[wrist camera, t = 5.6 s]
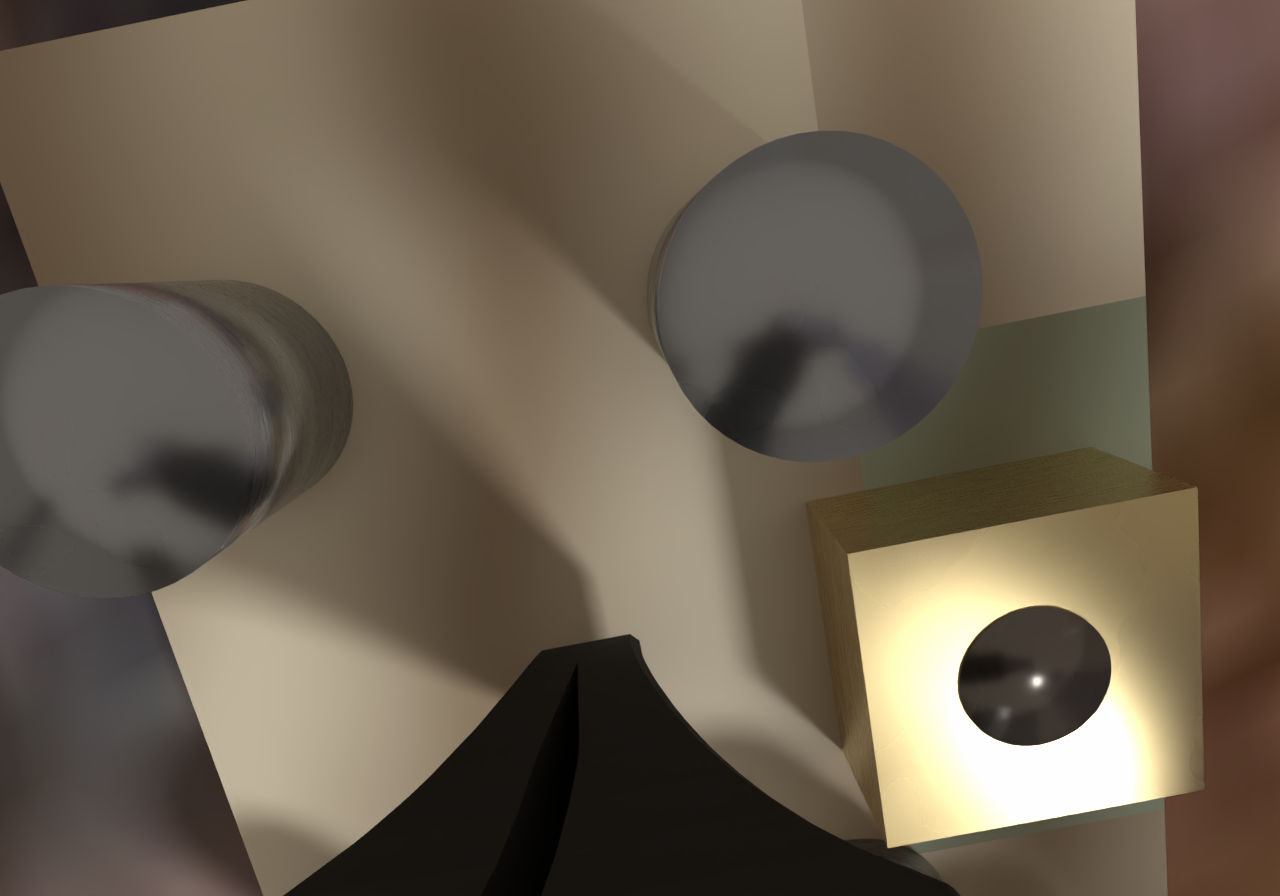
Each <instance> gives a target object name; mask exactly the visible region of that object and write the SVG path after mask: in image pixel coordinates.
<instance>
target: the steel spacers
mask: <svg viewBox="0 0 1280 896" xmlns="http://www.w3.org/2000/svg"><path fill="white" fill-rule="evenodd" d="M982 297H983V284H982V268H981V261H980V255H979V250H978V246H977V243H976V239H975V236H974V232H973V230H972V227H971V225H970V223H969V221H968V218H967V216H966V214H965V212H964V210H963V208H962V207H961V205H960V203H959V202H958V200H957V199H956V197H955V195H954V194H953V192H952V191H951V190H950V189H949V188H948V186H947V185H946V184H945V183H944V182H943V180H942V179H941V178H940V177H939V176H938V175H937V174H936V173H935V172H934V171H933V170H931V169H930V168H929V167H928V166H927V165H926V164H925V163H924V162H922V161H921V160H919V159H918V158H916V157H915V156H913V155H912V154H910V153H909V152H907V151H906V150H904V149H902V148H900V147H898V146H896V145H893V144H891V143H889V142H887V141H885V140H882V139H878V138H875V137H872V136H869V135H865V134H860V133H853V132H847V131H813V132H805V133H798V134H794V135H790V136H787V137H783V138H779V139H776V140H774V141H771V142H769V143H766V144H764V145H762V146H759V147H757V148H755V149H753V150H751V151H750V152H748V153H746V154H745V155H743V156H741V157H740V158H738V159H736V160H735V161H734V162H732V163H731V164H730V165H728V166H727V167H726V168H725V169H723V170H722V171H721V172H719V173H718V174H717V175H716V176H715V177H714V178H713V179H712V180H711V181H709V182H708V183H707V184H706V185H705V186H704V187H703V188H702V189H701V190H700V191H699V192H698V193H697V194H695V195H694V196H693V197H692V198H691V199H690V200H689V201H688V202H687V203H686V204H685V205H684V206H683V207H682V208H681V209H680V210H679V211H678V212H677V213H676V214H675V216H674V217H673V218H672V220H671V221H670V222H669V224H668V225H667V226H666V228H665V230H664V232H663V233H662V235H661V237H660V239H659V240H658V243H657V245H656V248H655V250H654V253H653V255H652V259H651V263H650V266H649V271H648V278H647V285H646V302H647V310H648V317H649V321H650V325H651V329H652V332H653V334H654V337H655V339H656V342H657V344H658V346H659V348H660V350H661V352H662V354H663V356H664V358H665V360H666V362H667V364H668V366H669V367H670V369H671V371H672V373H673V375H674V377H675V379H676V381H677V382H678V384H679V386H680V388H681V390H682V391H683V393H684V395H685V396H686V397H687V399H688V400H689V401H690V403H691V404H692V405H693V407H694V408H695V409H696V410H697V411H698V412H699V414H700V415H701V416H702V417H703V418H704V419H705V420H706V421H707V422H708V423H709V424H710V425H712V426H713V427H714V428H716V429H717V430H718V431H719V432H721V433H722V434H723V435H725V436H726V437H727V438H729V439H731V440H733V441H734V442H736V443H738V444H740V445H741V446H743V447H745V448H748V449H750V450H752V451H755V452H757V453H760V454H762V455H766V456H770V457H774V458H777V459H781V460H788V461H796V462H827V461H835V460H842V459H846V458H850V457H854V456H858V455H862V454H864V453H867V452H869V451H872V450H874V449H877V448H879V447H882V446H884V445H885V444H887V443H889V442H891V441H893V440H895V439H896V438H898V437H900V436H901V435H903V434H904V433H906V432H907V431H908V430H910V429H911V428H913V427H914V426H915V425H917V424H918V423H919V422H920V421H921V420H922V419H923V418H924V417H926V416H927V415H928V414H929V413H930V412H931V411H932V410H933V409H934V408H935V407H936V405H937V404H938V403H939V402H940V401H941V400H942V399H943V397H944V396H945V395H946V394H947V392H948V391H949V389H950V388H951V386H952V385H953V383H954V382H955V380H956V379H957V378H958V376H959V374H960V372H961V370H962V368H963V366H964V364H965V362H966V360H967V358H968V356H969V353H970V351H971V348H972V345H973V342H974V340H975V337H976V333H977V328H978V324H979V320H980V315H981V306H982ZM352 417H353V396H352V387H351V382H350V378H349V374H348V371H347V368H346V365H345V362H344V360H343V358H342V356H341V354H340V352H339V350H338V348H337V346H336V344H335V343H334V341H333V340H332V338H331V337H330V335H329V334H328V333H327V331H326V330H325V329H324V328H323V327H322V325H321V324H320V323H319V322H318V321H317V320H316V319H315V318H314V317H313V316H312V315H311V314H310V313H308V312H307V311H306V310H305V309H304V308H302V307H301V306H300V305H298V304H297V303H295V302H294V301H293V300H291V299H289V298H287V297H285V296H284V295H282V294H280V293H278V292H276V291H273V290H271V289H268V288H266V287H263V286H260V285H256V284H252V283H249V282H242V281H235V280H201V281H170V282H140V283H109V284H79V285H48V286H38V287H30V288H23V289H19V290H15V291H12V292H8V293H4V294H1V295H0V565H1V566H2V567H4V568H6V569H7V570H9V571H11V572H12V573H14V574H16V575H18V576H20V577H22V578H24V579H26V580H28V581H30V582H32V583H34V584H37V585H40V586H43V587H46V588H48V589H51V590H54V591H58V592H62V593H66V594H71V595H75V596H83V597H92V598H121V597H129V596H137V595H141V594H145V593H149V592H153V591H156V590H159V589H161V588H164V587H166V586H169V585H171V584H174V583H176V582H177V581H179V580H181V579H183V578H184V577H186V576H188V575H189V574H191V573H192V572H194V571H195V570H197V569H198V568H199V567H201V566H202V565H204V564H205V563H206V562H208V561H209V560H211V559H212V558H213V557H215V556H216V555H217V554H219V553H220V552H222V551H223V550H224V549H226V548H227V547H229V546H230V545H231V544H233V543H234V542H236V541H237V540H238V539H240V538H241V537H243V536H244V535H245V534H247V533H248V532H249V531H251V530H252V529H254V528H255V527H256V526H258V525H259V524H261V523H262V522H263V521H265V520H266V519H268V518H269V517H270V516H272V515H273V514H274V513H276V512H277V511H279V510H280V509H281V508H283V507H284V506H286V505H287V504H288V503H290V502H291V501H293V500H294V499H295V498H297V497H298V496H300V495H301V494H302V493H304V492H305V491H306V490H308V489H309V488H311V487H312V486H313V485H314V484H316V483H317V482H318V481H320V480H321V479H322V478H323V477H324V476H325V475H326V474H327V473H328V472H329V471H330V469H331V468H332V467H333V465H334V464H335V463H336V461H337V460H338V458H339V457H340V455H341V453H342V451H343V449H344V447H345V445H346V442H347V439H348V436H349V433H350V428H351V423H352ZM844 841H846V842H848V843H850V844H852V845H854V846H856V847H859V848H861V849H863V850H865V851H868V852H870V853H873V854H875V855H878V856H880V857H883V858H885V859H888V860H890V861H893V862H895V863H898V864H900V865H902V866H905V867H907V868H910V869H912V870H915V871H917V872H920V873H922V874H925V875H927V876H930V877H932V878H935V879H937V880H940V881H942V882H943V880H942V878H941V877H940V875H939V873H938V872H937V871H936V869H935V868H934V867H933V866H932V865H931V864H930V863H929V862H928V861H927V860H926V859H925V858H924V857H922V856H921V855H919V854H918V853H917V852H915V851H913V850H911V849H909V848H907V847H905V846H897V847H892V848H887V845H886V843H885V841H884V840H880V839H851V840H844Z"/></svg>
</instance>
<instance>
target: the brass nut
mask: <svg viewBox="0 0 1280 896" xmlns="http://www.w3.org/2000/svg"><path fill="white" fill-rule="evenodd" d="M806 509H807V516H808V522H809V529H810V536H811V543H812V549H813V556H814V563H815V570H816V576H817V583H818V590H819V597H820V603H821V610H822V617H823V624H824V630H825V637H826V644H827V651H828V657H829V664H830V671H831V678H832V684H833V691H834V698H835V704H836V711H837V718H838V725H839V731H840V738H841V745H842V751H843V753H844V755H845V757H846V759H847V762H848V764H849V766H850V768H851V770H852V772H853V775H854V777H855V779H856V781H857V783H858V785H859V787H860V790H861V792H862V794H863V796H864V798H865V800H866V802H867V805H868V807H869V809H870V811H871V813H872V815H873V818H874V820H875V822H876V824H877V826H878V828H879V830H880V833H881V835H882V837H883V839H884V841H885V843H886V845H887V848H892V847H897V846H903V845H908V844H914V843H919V842H924V841H930V840H935V839H941V838H946V837H952V836H957V835H962V834H968V833H973V832H979V831H984V830H989V829H995V828H1000V827H1006V826H1011V825H1017V824H1022V823H1027V822H1033V821H1038V820H1044V819H1049V818H1055V817H1060V816H1065V815H1071V814H1076V813H1082V812H1087V811H1092V810H1098V809H1103V808H1109V807H1114V806H1120V805H1125V804H1130V803H1136V802H1141V801H1147V800H1152V799H1157V798H1163V797H1168V796H1174V795H1179V794H1185V793H1190V792H1195V791H1201V790H1205V788H1204V743H1203V699H1202V654H1201V609H1200V565H1199V520H1198V487H1196V486H1193V485H1191V484H1188V483H1185V482H1183V481H1180V480H1177V479H1175V478H1172V477H1170V476H1167V475H1164V474H1162V473H1159V472H1156V471H1154V470H1151V469H1148V468H1146V467H1143V466H1141V465H1138V464H1135V463H1133V462H1130V461H1127V460H1125V459H1122V458H1119V457H1117V456H1114V455H1112V454H1109V453H1106V452H1104V451H1101V450H1098V449H1096V448H1093V447H1087V448H1082V449H1077V450H1071V451H1066V452H1061V453H1056V454H1051V455H1045V456H1040V457H1035V458H1030V459H1025V460H1019V461H1014V462H1009V463H1004V464H999V465H993V466H988V467H983V468H978V469H973V470H967V471H962V472H957V473H952V474H947V475H941V476H936V477H931V478H926V479H920V480H915V481H910V482H905V483H900V484H894V485H889V486H884V487H879V488H874V489H868V490H863V491H858V492H853V493H848V494H842V495H837V496H832V497H827V498H822V499H816V500H811V501H806Z"/></svg>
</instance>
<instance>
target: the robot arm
mask: <svg viewBox="0 0 1280 896" xmlns="http://www.w3.org/2000/svg"><path fill="white" fill-rule="evenodd" d="M283 896H960V894H959V893H958V892H957V891H956V890H955V889H954V888H953V887H952V886H950V885H949V884H947V883H945V882H942V881H940V880H937V879H935V878H932V877H930V876H927V875H925V874H922V873H920V872H917V871H915V870H912V869H910V868H907V867H905V866H902V865H900V864H898V863H895V862H893V861H890V860H888V859H885V858H883V857H880V856H878V855H875V854H873V853H870V852H868V851H865V850H863V849H861V848H859V847H856V846H854V845H852V844H850V843H848V842H846V841H844V840H843V839H841V838H839V837H837V836H835V835H833V834H831V833H829V832H827V831H825V830H823V829H821V828H819V827H817V826H816V825H814V824H812V823H810V822H809V821H807V820H806V819H804V818H802V817H801V816H799V815H798V814H796V813H795V812H793V811H792V810H790V809H788V808H787V807H785V806H784V805H782V804H781V803H779V802H777V801H776V800H774V799H773V798H771V797H770V796H768V795H767V794H766V793H764V792H763V791H762V790H761V789H759V788H758V787H757V786H755V785H754V784H753V783H752V782H750V781H749V780H748V779H747V778H745V777H744V776H743V775H741V774H740V773H739V772H738V771H737V770H736V769H734V768H733V767H732V766H731V765H730V764H729V763H728V762H726V761H725V760H724V759H723V758H722V757H721V756H720V755H719V754H718V753H717V752H716V751H715V750H714V749H712V748H711V747H710V746H709V745H708V744H707V742H706V741H705V740H704V739H703V738H702V737H701V736H700V735H699V734H698V733H697V732H696V731H695V730H694V729H693V727H692V726H691V725H690V724H689V723H688V722H687V721H686V720H685V719H684V717H683V716H682V715H681V714H680V712H679V711H678V710H677V709H676V707H675V706H674V705H673V703H672V702H671V701H670V699H669V698H668V697H667V695H666V694H665V692H664V691H663V690H662V688H661V687H660V686H659V684H658V683H657V681H656V679H655V678H654V676H653V675H652V673H651V671H650V669H649V667H648V666H647V664H646V662H645V660H644V658H643V655H642V650H641V645H640V641H639V640H638V639H637V638H635V637H634V636H632V635H631V634H627V635H622V636H616V637H611V638H606V639H600V640H595V641H590V642H584V643H579V644H574V645H568V646H563V647H558V648H552V649H547V650H542V651H541V652H540V653H539V654H538V655H537V656H536V657H535V658H534V659H533V660H532V662H531V663H530V664H529V665H528V666H527V668H526V669H525V670H524V671H523V673H522V674H521V675H520V676H519V677H518V679H517V680H516V681H515V682H514V684H513V685H512V686H511V687H510V688H509V690H508V691H507V692H506V693H505V694H504V696H503V697H502V698H501V699H500V700H499V701H498V703H497V704H496V705H495V706H494V707H493V709H492V710H491V711H490V712H489V713H488V714H487V716H486V717H485V718H484V719H483V720H482V721H481V723H480V724H479V725H478V726H477V727H476V728H475V729H474V731H473V732H472V733H471V734H470V735H469V736H468V737H467V738H466V739H465V740H464V741H463V742H462V743H461V744H460V745H459V746H458V747H457V748H456V749H455V750H454V752H453V753H452V754H451V755H450V756H449V757H448V758H447V759H446V760H445V761H444V762H443V763H442V764H441V765H440V766H439V767H438V768H437V769H436V770H435V772H434V773H433V774H432V775H431V776H430V777H429V778H428V779H427V780H426V781H425V782H423V783H422V784H421V785H420V786H419V787H418V788H417V789H416V790H415V791H414V792H413V793H412V794H411V795H410V796H409V797H407V798H406V799H405V800H404V801H403V802H402V803H401V804H400V805H399V806H397V807H396V808H395V809H394V810H393V811H392V812H390V813H389V814H388V815H387V816H386V817H385V818H383V819H382V820H381V821H380V822H379V823H378V824H377V825H375V826H374V827H373V828H372V829H371V830H370V831H368V832H367V833H366V834H365V835H363V836H362V837H361V838H360V839H358V840H357V841H356V842H355V843H354V844H352V845H351V846H350V847H348V848H347V849H345V850H344V851H343V852H341V853H340V854H339V855H337V856H336V857H335V858H333V859H332V860H331V861H329V862H328V863H327V864H325V865H324V866H322V867H321V868H320V869H318V870H317V871H316V872H314V873H313V874H312V875H310V876H309V877H308V878H306V879H305V880H304V881H302V882H301V883H299V884H298V885H297V886H295V887H294V888H293V889H291V890H290V891H289V892H287V893H286V894H285V895H283Z"/></svg>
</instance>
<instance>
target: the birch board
mask: <svg viewBox="0 0 1280 896" xmlns="http://www.w3.org/2000/svg"><path fill="white" fill-rule="evenodd" d="M813 131H847V132H853V133H860V134H865V135H869V136H872V137H875V138H878V139H882V140H885V141H887V142H889V143H891V144H893V145H896V146H898V147H900V148H902V149H904V150H906V151H907V152H909V153H910V154H912V155H913V156H915V157H916V158H918V159H919V160H921V161H922V162H924V163H925V164H926V165H927V166H928V167H929V168H930V169H931V170H933V171H934V172H935V173H936V174H937V175H938V176H939V177H940V178H941V179H942V180H943V182H944V183H945V184H946V185H947V186H948V188H949V189H950V190H951V191H952V192H953V194H954V195H955V197H956V199H957V200H958V202H959V203H960V205H961V207H962V208H963V210H964V212H965V214H966V216H967V218H968V221H969V223H970V225H971V227H972V230H973V232H974V236H975V239H976V243H977V246H978V250H979V255H980V261H981V268H982V284H983V297H982V306H981V315H980V320H979V324H978V328H977V333H976V337H975V340H974V342H973V345H972V348H971V351H970V353H969V356H968V358H967V360H966V362H965V364H964V366H963V368H962V370H961V372H960V374H959V376H958V378H957V379H956V380H955V382H954V383H953V385H952V386H951V388H950V389H949V391H948V392H947V394H946V395H945V396H944V397H943V399H942V400H941V401H940V402H939V403H938V404H937V405H936V407H935V408H934V409H933V410H932V411H931V412H930V413H929V414H928V415H927V416H926V417H924V418H923V419H922V420H921V421H920V422H919V423H918V424H917V425H915V426H914V427H913V428H911V429H910V430H908V431H907V432H906V433H904V434H903V435H901V436H900V437H898V438H896V439H895V440H893V441H891V442H889V443H887V444H885V445H884V446H882V447H879V448H877V449H874V450H872V451H869V452H867V453H864V454H862V455H858V456H854V457H850V458H846V459H842V460H835V461H827V462H796V461H788V460H781V459H777V458H774V457H770V456H766V455H762V454H760V453H757V452H755V451H752V450H750V449H748V448H745V447H743V446H741V445H740V444H738V443H736V442H734V441H733V440H731V439H729V438H727V437H726V436H725V435H723V434H722V433H721V432H719V431H718V430H717V429H716V428H714V427H713V426H712V425H710V424H709V423H708V422H707V421H706V420H705V419H704V418H703V417H702V416H701V415H700V414H699V412H698V411H697V410H696V409H695V408H694V407H693V405H692V404H691V403H690V401H689V400H688V399H687V397H686V396H685V395H684V393H683V391H682V390H681V388H680V386H679V384H678V382H677V381H676V379H675V377H674V375H673V373H672V371H671V369H670V367H669V366H668V364H667V362H666V360H665V358H664V356H663V354H662V352H661V350H660V348H659V346H658V344H657V342H656V339H655V337H654V334H653V332H652V329H651V325H650V321H649V317H648V310H647V302H646V285H647V278H648V271H649V266H650V263H651V259H652V255H653V253H654V250H655V248H656V245H657V243H658V240H659V239H660V237H661V235H662V233H663V232H664V230H665V228H666V226H667V225H668V224H669V222H670V221H671V220H672V218H673V217H674V216H675V214H676V213H677V212H678V211H679V210H680V209H681V208H682V207H683V206H684V205H685V204H686V203H687V202H688V201H689V200H690V199H691V198H692V197H693V196H694V195H695V194H697V193H698V192H699V191H700V190H701V189H702V188H703V187H704V186H705V185H706V184H707V183H708V182H709V181H711V180H712V179H713V178H714V177H715V176H716V175H717V174H718V173H719V172H721V171H722V170H723V169H725V168H726V167H727V166H728V165H730V164H731V163H732V162H734V161H735V160H736V159H738V158H740V157H741V156H743V155H745V154H746V153H748V152H750V151H751V150H753V149H755V148H757V147H759V146H762V145H764V144H766V143H769V142H771V141H774V140H776V139H779V138H783V137H787V136H790V135H794V134H798V133H805V132H813ZM0 183H1V186H2V188H3V191H4V194H5V196H6V199H7V202H8V205H9V207H10V210H11V213H12V215H13V218H14V221H15V224H16V226H17V229H18V232H19V234H20V237H21V240H22V242H23V245H24V248H25V251H26V253H27V256H28V259H29V261H30V264H31V267H32V270H33V272H34V275H35V278H36V280H37V283H38V286H48V285H79V284H109V283H140V282H170V281H201V280H235V281H242V282H249V283H252V284H256V285H260V286H263V287H266V288H268V289H271V290H273V291H276V292H278V293H280V294H282V295H284V296H285V297H287V298H289V299H291V300H293V301H294V302H295V303H297V304H298V305H300V306H301V307H302V308H304V309H305V310H306V311H307V312H308V313H310V314H311V315H312V316H313V317H314V318H315V319H316V320H317V321H318V322H319V323H320V324H321V325H322V327H323V328H324V329H325V330H326V331H327V333H328V334H329V335H330V337H331V338H332V340H333V341H334V343H335V344H336V346H337V348H338V350H339V352H340V354H341V356H342V358H343V360H344V362H345V365H346V368H347V371H348V374H349V378H350V382H351V387H352V396H353V417H352V423H351V428H350V433H349V436H348V439H347V442H346V445H345V447H344V449H343V451H342V453H341V455H340V457H339V458H338V460H337V461H336V463H335V464H334V465H333V467H332V468H331V469H330V471H329V472H328V473H327V474H326V475H325V476H324V477H323V478H322V479H321V480H320V481H318V482H317V483H316V484H314V485H313V486H312V487H311V488H309V489H308V490H306V491H305V492H304V493H302V494H301V495H300V496H298V497H297V498H295V499H294V500H293V501H291V502H290V503H288V504H287V505H286V506H284V507H283V508H281V509H280V510H279V511H277V512H276V513H274V514H273V515H272V516H270V517H269V518H268V519H266V520H265V521H263V522H262V523H261V524H259V525H258V526H256V527H255V528H254V529H252V530H251V531H249V532H248V533H247V534H245V535H244V536H243V537H241V538H240V539H238V540H237V541H236V542H234V543H233V544H231V545H230V546H229V547H227V548H226V549H224V550H223V551H222V552H220V553H219V554H217V555H216V556H215V557H213V558H212V559H211V560H209V561H208V562H206V563H205V564H204V565H202V566H201V567H199V568H198V569H197V570H195V571H194V572H192V573H191V574H189V575H188V576H186V577H184V578H183V579H181V580H179V581H177V582H176V583H174V584H171V585H169V586H166V587H164V588H161V589H159V590H156V591H153V592H152V595H153V598H154V601H155V603H156V606H157V609H158V611H159V614H160V617H161V620H162V622H163V625H164V628H165V630H166V633H167V636H168V639H169V641H170V644H171V647H172V649H173V652H174V655H175V658H176V660H177V663H178V666H179V668H180V671H181V674H182V677H183V679H184V682H185V685H186V687H187V690H188V693H189V695H190V698H191V701H192V704H193V706H194V709H195V712H196V714H197V717H198V720H199V723H200V725H201V728H202V731H203V733H204V736H205V739H206V742H207V744H208V747H209V750H210V752H211V755H212V758H213V761H214V763H215V766H216V769H217V771H218V774H219V777H220V780H221V782H222V785H223V788H224V790H225V793H226V796H227V799H228V801H229V804H230V807H231V809H232V812H233V815H234V818H235V820H236V823H237V826H238V828H239V831H240V834H241V837H242V839H243V842H244V845H245V847H246V850H247V853H248V856H249V858H250V861H251V864H252V866H253V869H254V872H255V875H256V877H257V880H258V883H259V885H260V888H261V891H262V894H263V896H283V895H285V894H286V893H287V892H289V891H290V890H291V889H293V888H294V887H295V886H297V885H298V884H299V883H301V882H302V881H304V880H305V879H306V878H308V877H309V876H310V875H312V874H313V873H314V872H316V871H317V870H318V869H320V868H321V867H322V866H324V865H325V864H327V863H328V862H329V861H331V860H332V859H333V858H335V857H336V856H337V855H339V854H340V853H341V852H343V851H344V850H345V849H347V848H348V847H350V846H351V845H352V844H354V843H355V842H356V841H357V840H358V839H360V838H361V837H362V836H363V835H365V834H366V833H367V832H368V831H370V830H371V829H372V828H373V827H374V826H375V825H377V824H378V823H379V822H380V821H381V820H382V819H383V818H385V817H386V816H387V815H388V814H389V813H390V812H392V811H393V810H394V809H395V808H396V807H397V806H399V805H400V804H401V803H402V802H403V801H404V800H405V799H406V798H407V797H409V796H410V795H411V794H412V793H413V792H414V791H415V790H416V789H417V788H418V787H419V786H420V785H421V784H422V783H423V782H425V781H426V780H427V779H428V778H429V777H430V776H431V775H432V774H433V773H434V772H435V770H436V769H437V768H438V767H439V766H440V765H441V764H442V763H443V762H444V761H445V760H446V759H447V758H448V757H449V756H450V755H451V754H452V753H453V752H454V750H455V749H456V748H457V747H458V746H459V745H460V744H461V743H462V742H463V741H464V740H465V739H466V738H467V737H468V736H469V735H470V734H471V733H472V732H473V731H474V729H475V728H476V727H477V726H478V725H479V724H480V723H481V721H482V720H483V719H484V718H485V717H486V716H487V714H488V713H489V712H490V711H491V710H492V709H493V707H494V706H495V705H496V704H497V703H498V701H499V700H500V699H501V698H502V697H503V696H504V694H505V693H506V692H507V691H508V690H509V688H510V687H511V686H512V685H513V684H514V682H515V681H516V680H517V679H518V677H519V676H520V675H521V674H522V673H523V671H524V670H525V669H526V668H527V666H528V665H529V664H530V663H531V662H532V660H533V659H534V658H535V657H536V656H537V655H538V654H539V653H540V652H541V651H542V650H547V649H552V648H558V647H563V646H568V645H574V644H579V643H584V642H590V641H595V640H600V639H606V638H611V637H616V636H622V635H627V634H631V635H632V636H634V637H635V638H637V639H638V640H639V641H640V645H641V650H642V655H643V658H644V660H645V662H646V664H647V666H648V667H649V669H650V671H651V673H652V675H653V676H654V678H655V679H656V681H657V683H658V684H659V686H660V687H661V688H662V690H663V691H664V692H665V694H666V695H667V697H668V698H669V699H670V701H671V702H672V703H673V705H674V706H675V707H676V709H677V710H678V711H679V712H680V714H681V715H682V716H683V717H684V719H685V720H686V721H687V722H688V723H689V724H690V725H691V726H692V727H693V729H694V730H695V731H696V732H697V733H698V734H699V735H700V736H701V737H702V738H703V739H704V740H705V741H706V742H707V744H708V745H709V746H710V747H711V748H712V749H714V750H715V751H716V752H717V753H718V754H719V755H720V756H721V757H722V758H723V759H724V760H725V761H726V762H728V763H729V764H730V765H731V766H732V767H733V768H734V769H736V770H737V771H738V772H739V773H740V774H741V775H743V776H744V777H745V778H747V779H748V780H749V781H750V782H752V783H753V784H754V785H755V786H757V787H758V788H759V789H761V790H762V791H763V792H764V793H766V794H767V795H768V796H770V797H771V798H773V799H774V800H776V801H777V802H779V803H781V804H782V805H784V806H785V807H787V808H788V809H790V810H792V811H793V812H795V813H796V814H798V815H799V816H801V817H802V818H804V819H806V820H807V821H809V822H810V823H812V824H814V825H816V826H817V827H819V828H821V829H823V830H825V831H827V832H829V833H831V834H833V835H835V836H837V837H839V838H841V839H843V840H851V839H880V840H884V839H883V837H882V835H881V833H880V830H879V828H878V826H877V824H876V822H875V820H874V818H873V815H872V813H871V811H870V809H869V807H868V805H867V802H866V800H865V798H864V796H863V794H862V792H861V790H860V787H859V785H858V783H857V781H856V779H855V777H854V775H853V772H852V770H851V768H850V766H849V764H848V762H847V759H846V757H845V755H844V753H843V751H842V745H841V738H840V731H839V725H838V718H837V711H836V704H835V698H834V691H833V684H832V678H831V671H830V664H829V657H828V651H827V644H826V637H825V630H824V624H823V617H822V610H821V603H820V597H819V590H818V583H817V576H816V570H815V563H814V556H813V549H812V543H811V536H810V529H809V522H808V516H807V509H806V501H811V500H816V499H822V498H827V497H832V496H837V495H842V494H848V493H853V492H858V491H863V490H868V489H874V488H879V487H884V486H889V485H894V484H900V483H905V482H910V481H915V480H920V479H926V478H931V477H936V476H941V475H947V474H952V473H957V472H962V471H967V470H973V469H978V468H983V467H988V466H993V465H999V464H1004V463H1009V462H1014V461H1019V460H1025V459H1030V458H1035V457H1040V456H1045V455H1051V454H1056V453H1061V452H1066V451H1071V450H1077V449H1082V448H1087V447H1093V448H1096V449H1098V450H1101V451H1104V452H1106V453H1109V454H1112V455H1114V456H1117V457H1119V458H1122V459H1125V460H1127V461H1130V462H1133V463H1135V464H1138V465H1141V466H1143V467H1146V468H1148V469H1151V470H1152V451H1151V423H1150V396H1149V369H1148V341H1147V314H1146V287H1145V260H1144V232H1143V205H1142V178H1141V151H1140V123H1139V96H1138V69H1137V42H1136V14H1135V0H246V1H241V2H236V3H231V4H226V5H222V6H217V7H212V8H207V9H202V10H197V11H192V12H187V13H183V14H178V15H173V16H168V17H163V18H158V19H153V20H148V21H144V22H139V23H134V24H129V25H124V26H119V27H114V28H110V29H105V30H100V31H95V32H90V33H85V34H80V35H75V36H71V37H66V38H61V39H56V40H51V41H46V42H41V43H36V44H32V45H27V46H22V47H17V48H12V49H7V50H2V51H0ZM903 846H905V847H907V848H909V849H911V850H913V851H915V852H917V853H918V854H919V855H921V856H922V857H924V858H925V859H926V860H927V861H928V862H929V863H930V864H931V865H932V866H933V867H934V868H935V869H936V871H937V872H938V873H939V875H940V877H941V878H942V880H943V882H945V883H947V884H949V885H950V886H952V887H953V888H954V889H955V890H956V891H957V892H958V893H959V894H960V896H1168V887H1167V860H1166V832H1165V805H1164V797H1163V798H1157V799H1152V800H1147V801H1141V802H1136V803H1130V804H1125V805H1120V806H1114V807H1109V808H1103V809H1098V810H1092V811H1087V812H1082V813H1076V814H1071V815H1065V816H1060V817H1055V818H1049V819H1044V820H1038V821H1033V822H1027V823H1022V824H1017V825H1011V826H1006V827H1000V828H995V829H989V830H984V831H979V832H973V833H968V834H962V835H957V836H952V837H946V838H941V839H935V840H930V841H924V842H919V843H914V844H908V845H903Z"/></svg>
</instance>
